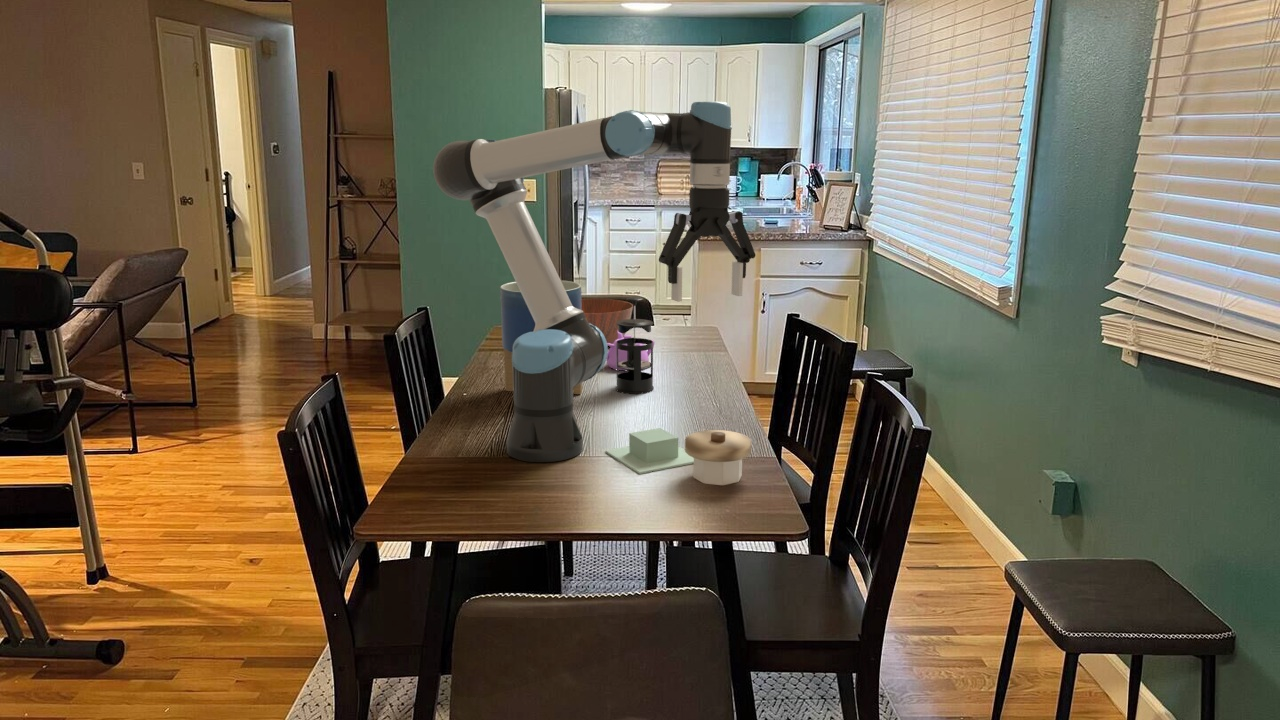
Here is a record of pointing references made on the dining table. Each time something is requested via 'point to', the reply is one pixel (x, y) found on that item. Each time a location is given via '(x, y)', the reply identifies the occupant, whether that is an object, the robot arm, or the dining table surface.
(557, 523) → the dining table surface
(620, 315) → the bowl
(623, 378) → the french press
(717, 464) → the ramekin
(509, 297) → the planter
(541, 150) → the robot arm
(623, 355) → the teapot
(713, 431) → the lid
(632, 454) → the mat stand
